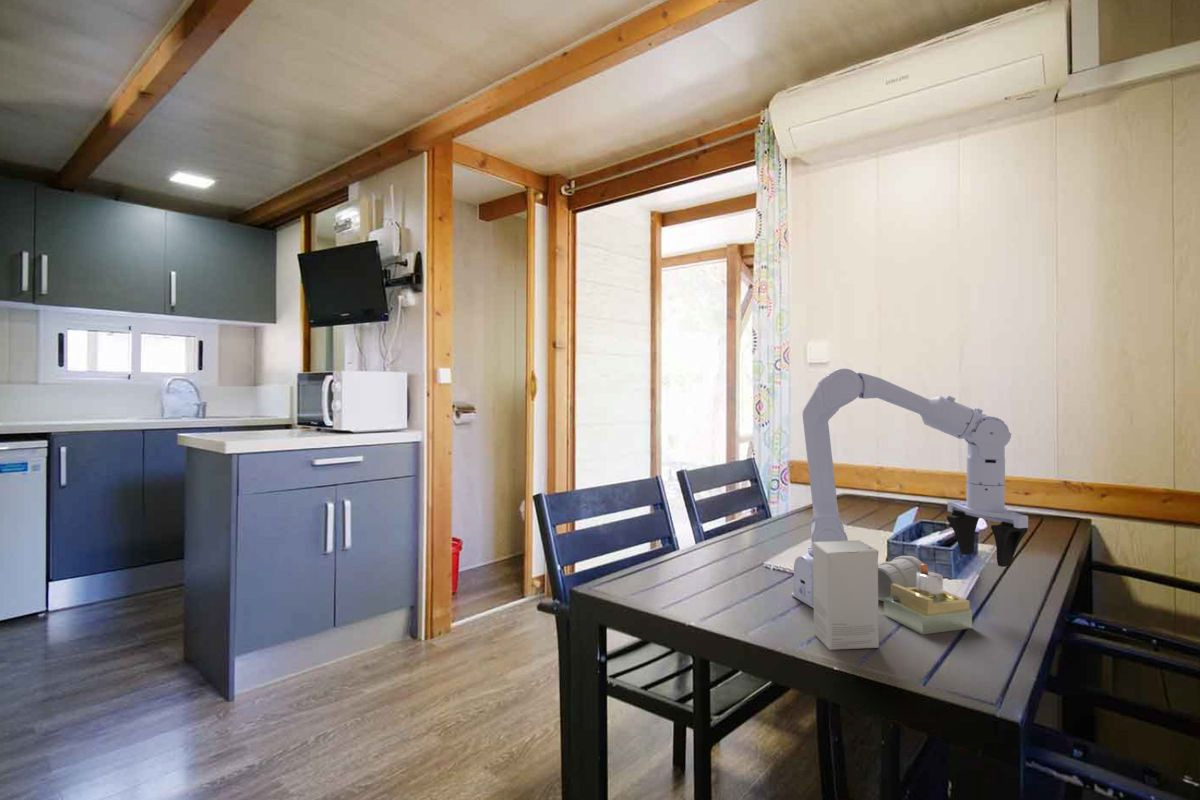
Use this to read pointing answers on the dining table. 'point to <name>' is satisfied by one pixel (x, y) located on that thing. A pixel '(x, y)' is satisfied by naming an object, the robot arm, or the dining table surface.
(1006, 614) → the dining table surface
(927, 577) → the spout can
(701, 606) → the dining table surface
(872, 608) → the skincare box
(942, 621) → the tan and green box
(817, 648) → the dining table surface
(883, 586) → the mug
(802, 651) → the dining table surface
